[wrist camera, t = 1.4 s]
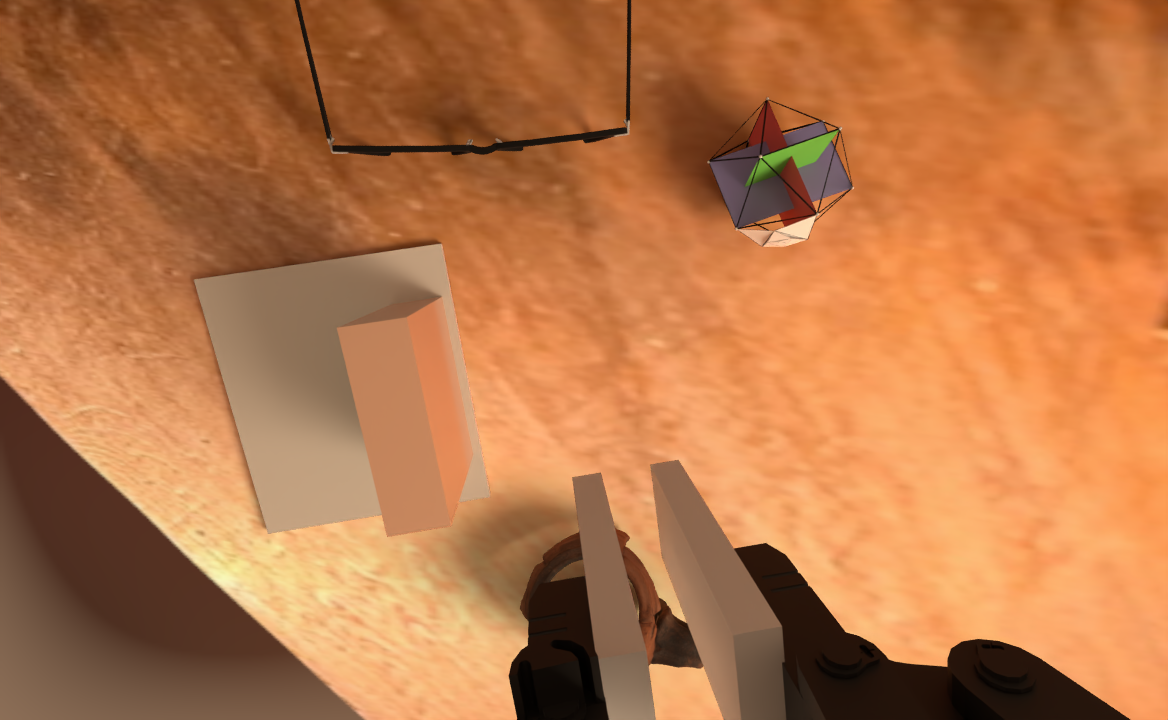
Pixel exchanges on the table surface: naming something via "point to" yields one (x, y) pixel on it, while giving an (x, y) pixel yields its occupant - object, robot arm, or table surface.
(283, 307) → the mat
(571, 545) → the brown curved band frame
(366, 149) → the eyeglasses
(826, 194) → the geometric puzzle
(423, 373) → the block
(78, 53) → the table surface
